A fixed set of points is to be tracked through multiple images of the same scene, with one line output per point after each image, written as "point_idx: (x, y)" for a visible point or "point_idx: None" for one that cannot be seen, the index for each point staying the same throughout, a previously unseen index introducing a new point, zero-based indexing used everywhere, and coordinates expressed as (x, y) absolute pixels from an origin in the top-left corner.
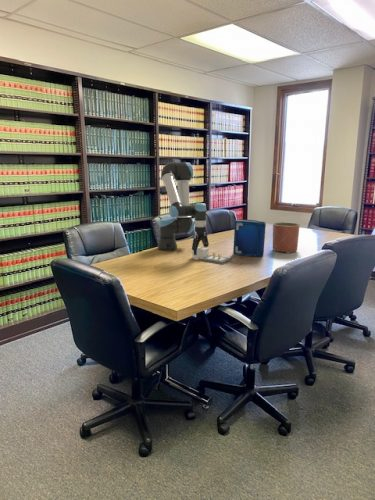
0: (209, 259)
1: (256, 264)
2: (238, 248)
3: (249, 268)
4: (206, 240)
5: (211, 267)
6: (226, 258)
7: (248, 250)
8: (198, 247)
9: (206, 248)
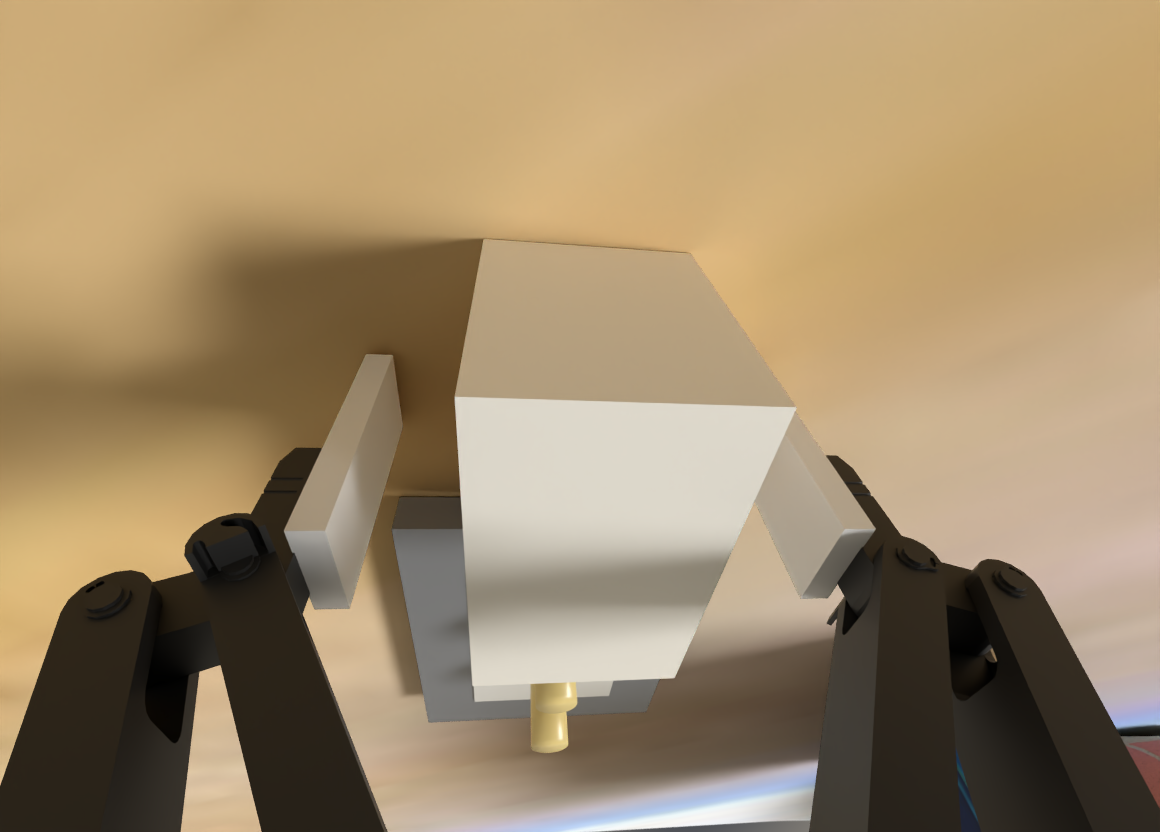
0: (427, 614)
1: (593, 790)
2: None
3: (455, 800)
4: (988, 804)
5: (217, 680)
6: (602, 696)
7: None
8: (651, 515)
9: (620, 670)
